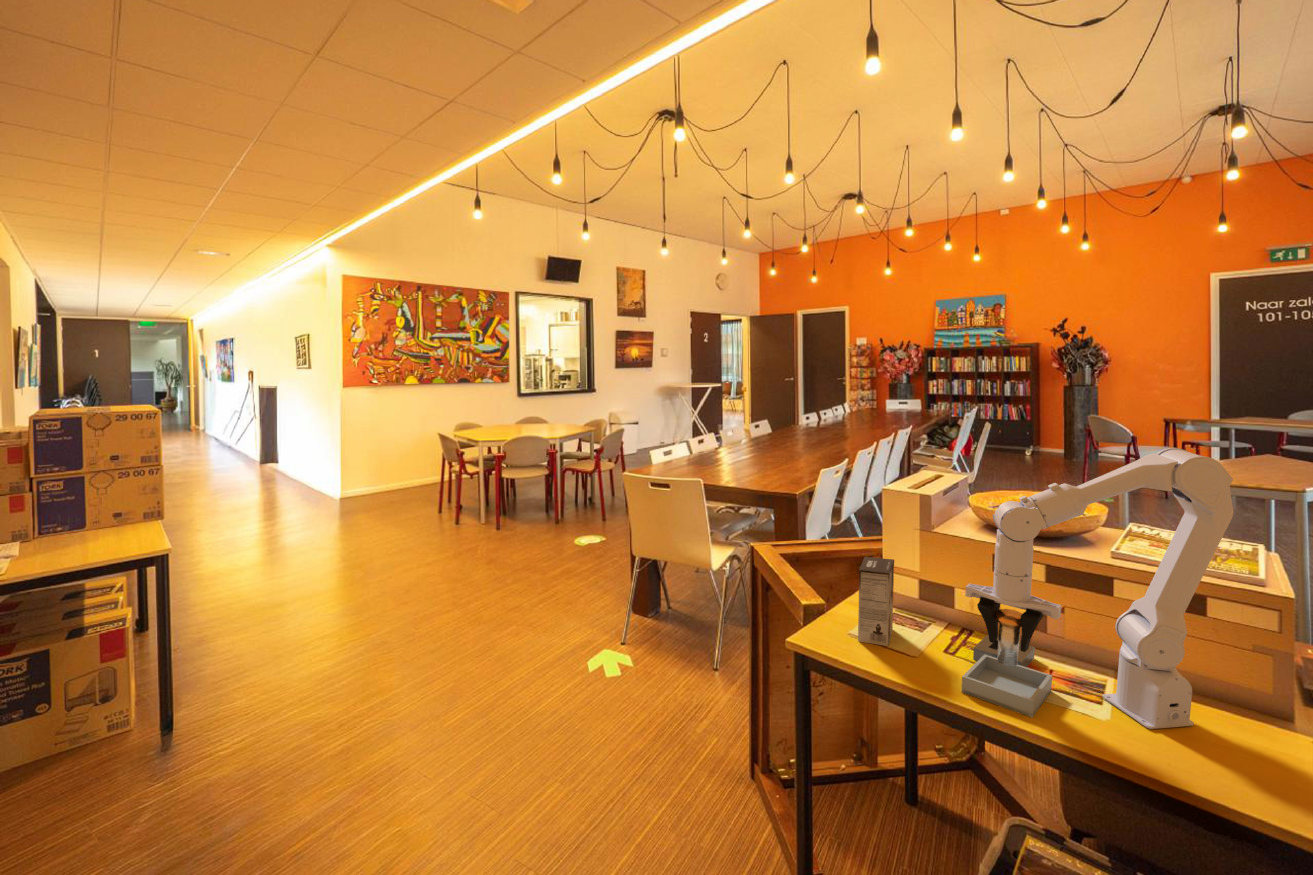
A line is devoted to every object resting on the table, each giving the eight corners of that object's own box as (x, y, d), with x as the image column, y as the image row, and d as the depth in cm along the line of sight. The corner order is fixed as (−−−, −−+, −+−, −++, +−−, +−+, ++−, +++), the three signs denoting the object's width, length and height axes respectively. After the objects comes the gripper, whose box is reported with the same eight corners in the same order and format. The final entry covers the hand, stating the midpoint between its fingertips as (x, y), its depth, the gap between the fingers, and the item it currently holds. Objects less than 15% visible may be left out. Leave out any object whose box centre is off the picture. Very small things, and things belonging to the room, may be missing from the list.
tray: (1051, 690, 109) (1052, 675, 109) (1032, 717, 101) (1033, 700, 101) (983, 668, 117) (984, 654, 117) (961, 692, 109) (962, 676, 109)
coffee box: (862, 624, 138) (864, 555, 135) (893, 628, 135) (894, 558, 133) (857, 641, 129) (858, 568, 127) (889, 647, 127) (891, 572, 124)
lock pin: (1028, 666, 107) (1032, 620, 105) (1003, 670, 107) (1007, 623, 105) (1010, 652, 112) (1013, 607, 110) (987, 655, 111) (989, 610, 109)
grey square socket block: (1034, 658, 120) (1034, 646, 120) (1020, 674, 115) (1021, 662, 114) (987, 644, 126) (988, 633, 126) (973, 659, 121) (973, 647, 120)
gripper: (1067, 575, 104) (1062, 650, 106) (976, 556, 114) (973, 625, 116) (1056, 586, 99) (1051, 665, 101) (962, 565, 109) (959, 637, 111)
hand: (1008, 644), depth 108 cm, fingers closed on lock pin, 4 cm apart
